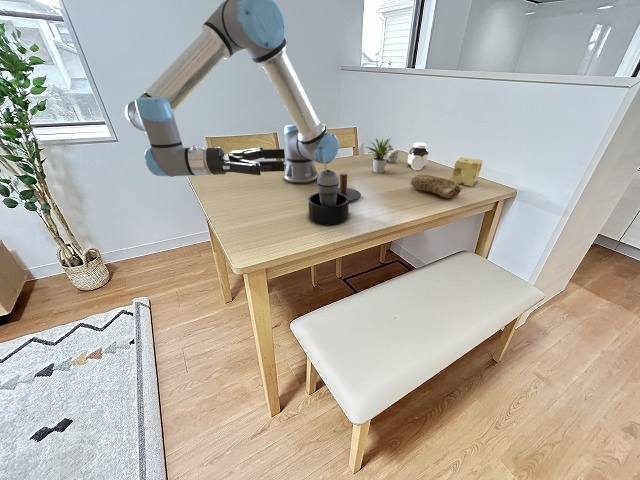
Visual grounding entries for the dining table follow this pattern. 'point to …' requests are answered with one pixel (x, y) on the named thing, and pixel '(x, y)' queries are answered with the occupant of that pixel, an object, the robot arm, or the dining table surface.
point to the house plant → (379, 155)
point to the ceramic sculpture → (391, 155)
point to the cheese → (466, 171)
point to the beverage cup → (327, 187)
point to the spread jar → (418, 156)
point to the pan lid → (347, 189)
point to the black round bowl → (328, 210)
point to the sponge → (436, 185)
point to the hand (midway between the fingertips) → (284, 159)
